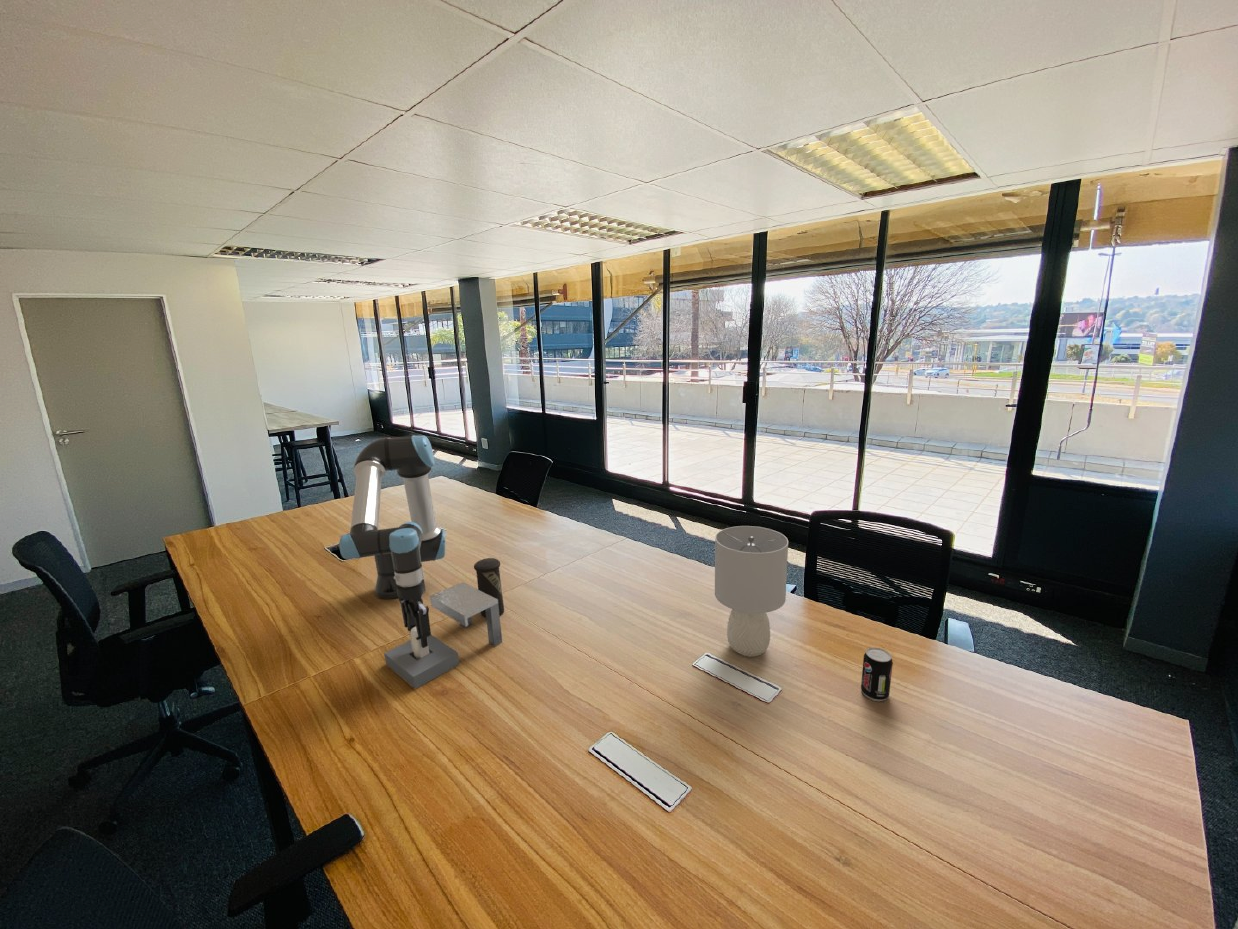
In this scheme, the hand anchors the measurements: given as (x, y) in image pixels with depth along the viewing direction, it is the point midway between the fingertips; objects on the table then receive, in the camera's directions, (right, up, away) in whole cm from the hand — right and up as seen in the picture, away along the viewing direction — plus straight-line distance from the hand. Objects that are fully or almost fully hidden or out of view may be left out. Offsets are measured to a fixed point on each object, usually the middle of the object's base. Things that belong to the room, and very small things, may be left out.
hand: (420, 652), depth 148 cm
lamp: (+99, 0, +2) cm, 99 cm away
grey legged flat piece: (+10, -1, +13) cm, 17 cm away
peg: (0, -4, +1) cm, 4 cm away
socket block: (0, -4, +1) cm, 4 cm away
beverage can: (+127, -4, -18) cm, 128 cm away
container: (+14, +3, +29) cm, 32 cm away
